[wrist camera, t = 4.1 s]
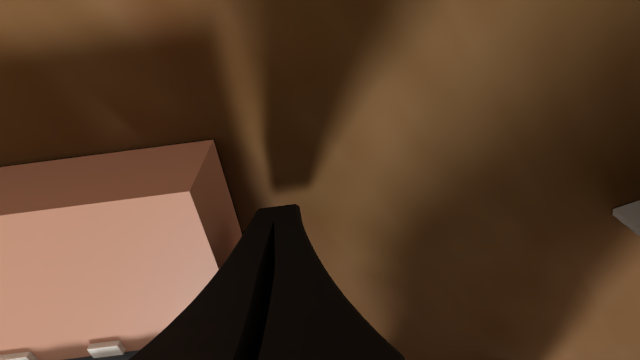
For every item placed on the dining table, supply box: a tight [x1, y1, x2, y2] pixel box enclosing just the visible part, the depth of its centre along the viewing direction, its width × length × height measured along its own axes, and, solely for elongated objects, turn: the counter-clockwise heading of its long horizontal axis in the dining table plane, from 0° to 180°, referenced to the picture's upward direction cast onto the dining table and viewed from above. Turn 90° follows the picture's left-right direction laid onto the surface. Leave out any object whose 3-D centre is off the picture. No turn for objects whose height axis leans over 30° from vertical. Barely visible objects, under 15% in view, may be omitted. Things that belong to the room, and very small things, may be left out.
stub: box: [0, 140, 242, 360], centre depth 11 cm, size 12×6×3 cm, turn 96°
